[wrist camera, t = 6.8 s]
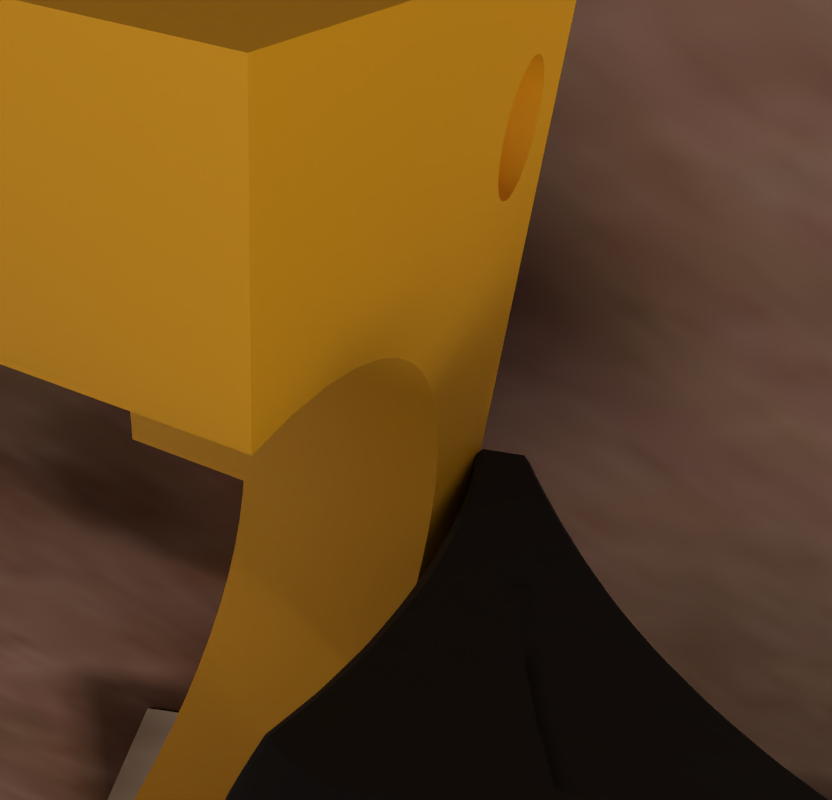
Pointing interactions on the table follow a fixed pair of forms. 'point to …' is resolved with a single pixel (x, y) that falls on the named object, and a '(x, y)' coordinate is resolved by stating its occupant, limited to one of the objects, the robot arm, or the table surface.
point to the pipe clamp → (278, 288)
